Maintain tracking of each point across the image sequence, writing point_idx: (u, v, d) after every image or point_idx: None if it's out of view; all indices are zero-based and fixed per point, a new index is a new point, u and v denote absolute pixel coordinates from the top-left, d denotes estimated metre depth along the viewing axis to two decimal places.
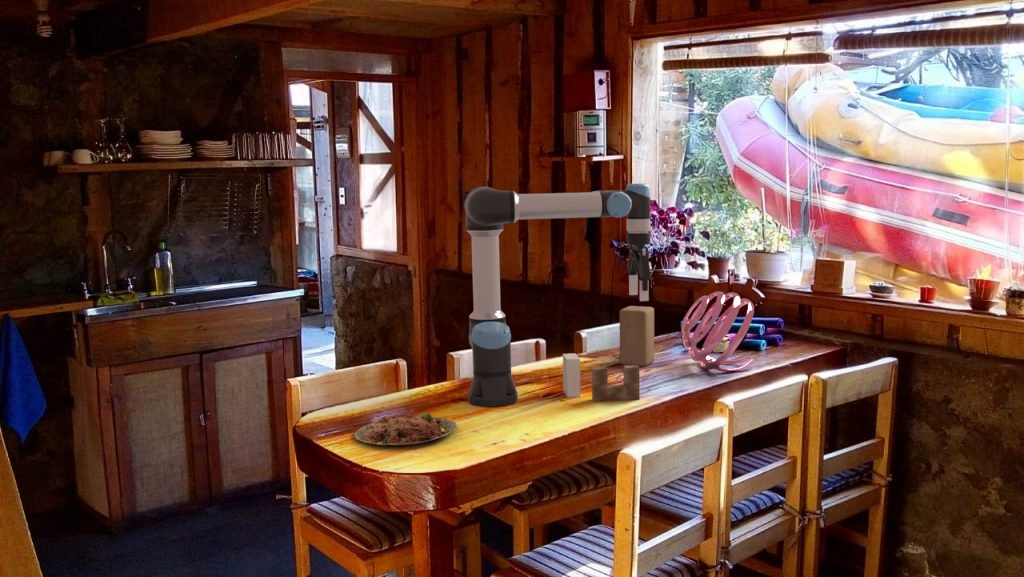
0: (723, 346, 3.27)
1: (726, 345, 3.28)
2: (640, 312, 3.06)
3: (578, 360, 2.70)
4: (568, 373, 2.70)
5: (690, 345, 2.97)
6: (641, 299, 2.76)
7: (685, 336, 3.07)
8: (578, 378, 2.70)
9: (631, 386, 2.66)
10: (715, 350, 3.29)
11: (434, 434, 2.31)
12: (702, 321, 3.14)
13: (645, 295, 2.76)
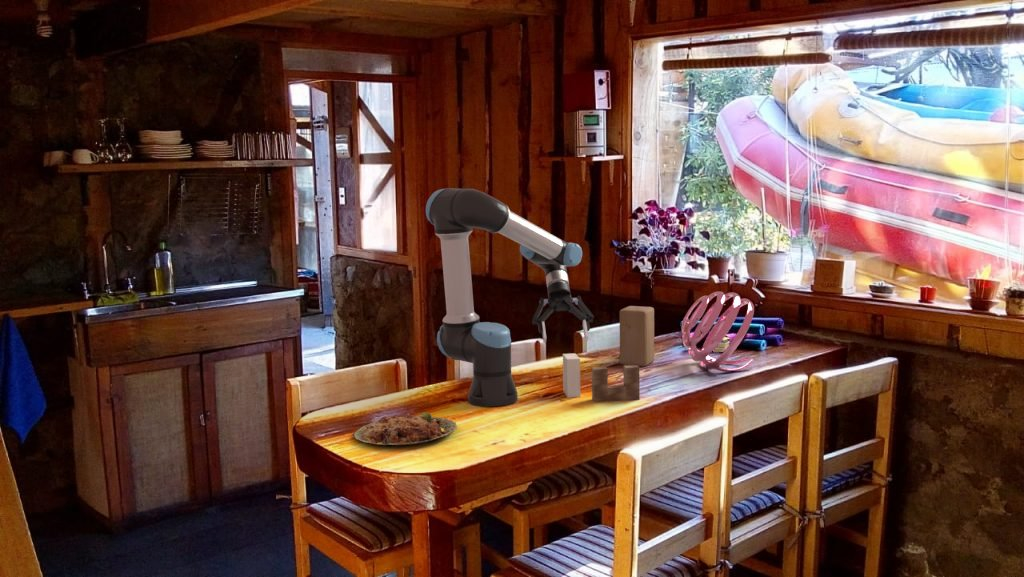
0: (723, 346, 3.27)
1: (726, 345, 3.28)
2: (640, 312, 3.06)
3: (578, 360, 2.70)
4: (568, 373, 2.70)
5: (690, 345, 2.97)
6: None
7: (685, 336, 3.07)
8: (578, 378, 2.70)
9: (631, 386, 2.66)
10: (715, 350, 3.29)
11: (434, 434, 2.31)
12: (702, 321, 3.14)
13: None
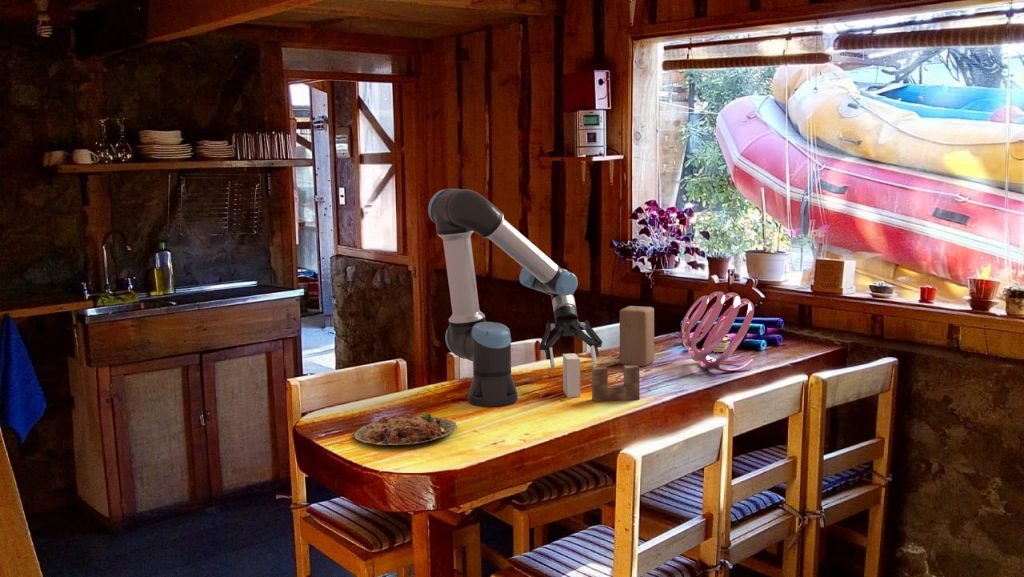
0: (723, 346, 3.27)
1: (726, 345, 3.27)
2: (640, 312, 3.06)
3: (578, 360, 2.70)
4: (568, 373, 2.70)
5: (690, 345, 2.97)
6: None
7: (685, 336, 3.07)
8: (578, 378, 2.70)
9: (631, 386, 2.66)
10: (715, 350, 3.29)
11: (434, 434, 2.31)
12: (702, 321, 3.14)
13: None
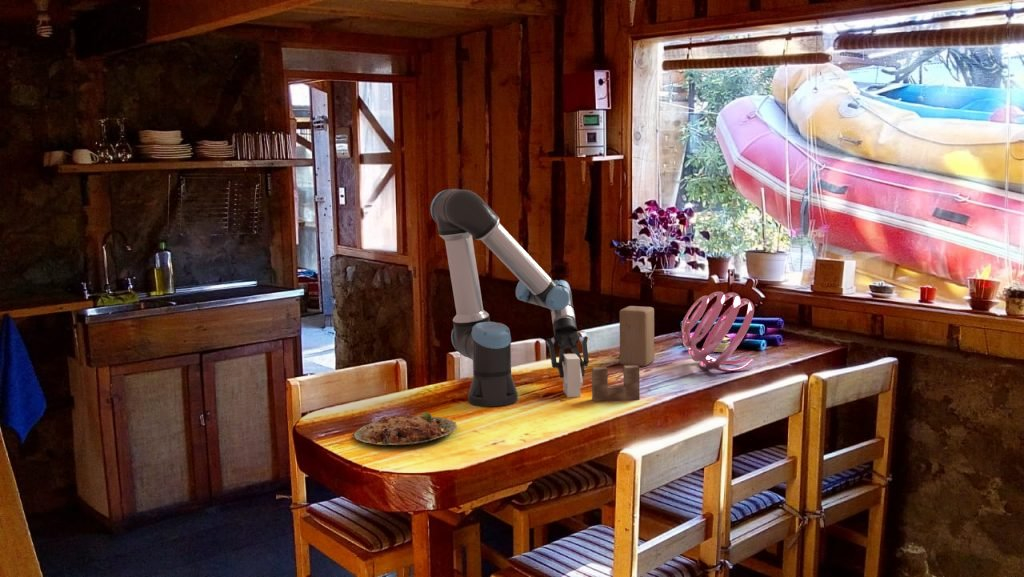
0: (723, 346, 3.27)
1: (726, 345, 3.27)
2: (640, 312, 3.06)
3: (578, 360, 2.70)
4: (568, 373, 2.70)
5: (690, 345, 2.97)
6: (582, 381, 2.70)
7: (685, 336, 3.07)
8: (578, 378, 2.70)
9: (631, 386, 2.66)
10: (715, 350, 3.29)
11: (434, 434, 2.31)
12: (702, 321, 3.14)
13: None
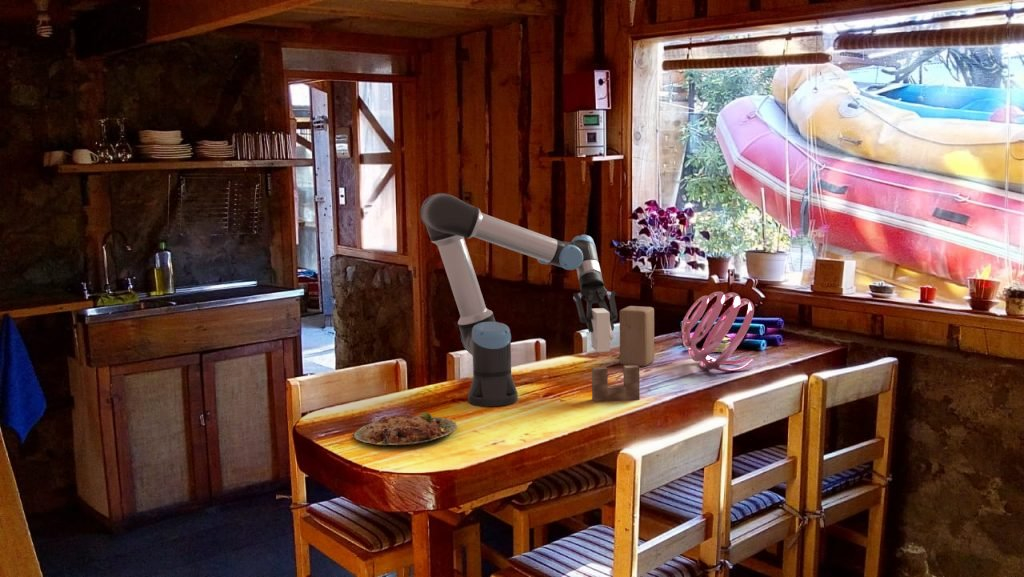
0: (723, 346, 3.26)
1: (726, 346, 3.27)
2: (640, 312, 3.06)
3: (608, 314, 2.64)
4: (598, 327, 2.64)
5: (690, 345, 2.97)
6: None
7: (685, 336, 3.07)
8: (608, 332, 2.65)
9: (631, 386, 2.66)
10: (715, 350, 3.28)
11: (434, 434, 2.31)
12: (702, 321, 3.14)
13: None
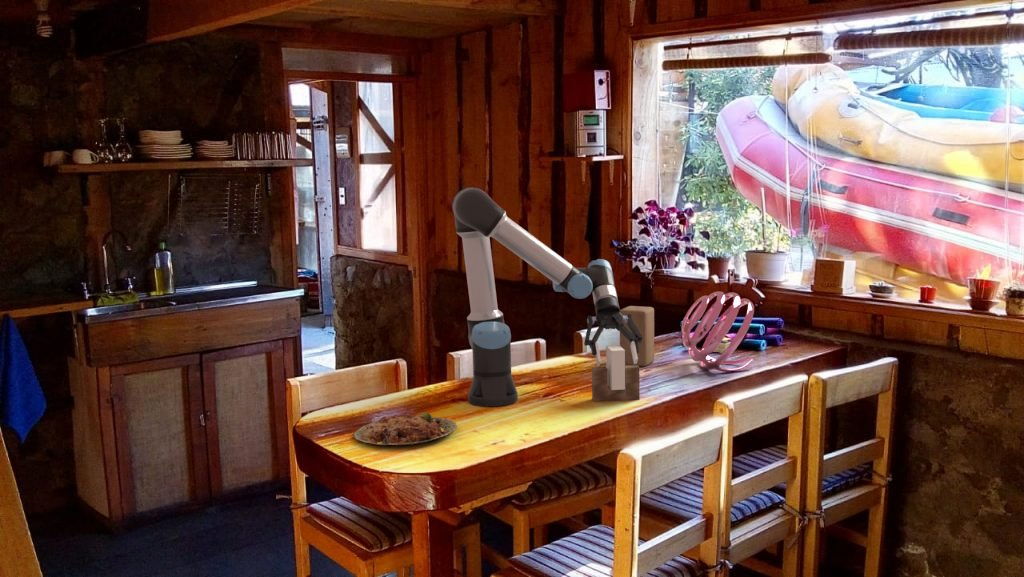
0: (723, 347, 3.26)
1: (727, 346, 3.27)
2: (640, 312, 3.06)
3: (623, 351, 2.61)
4: (613, 365, 2.62)
5: (690, 345, 2.97)
6: None
7: (685, 336, 3.07)
8: (623, 370, 2.62)
9: (631, 386, 2.66)
10: (716, 351, 3.28)
11: (434, 434, 2.31)
12: (702, 321, 3.14)
13: None
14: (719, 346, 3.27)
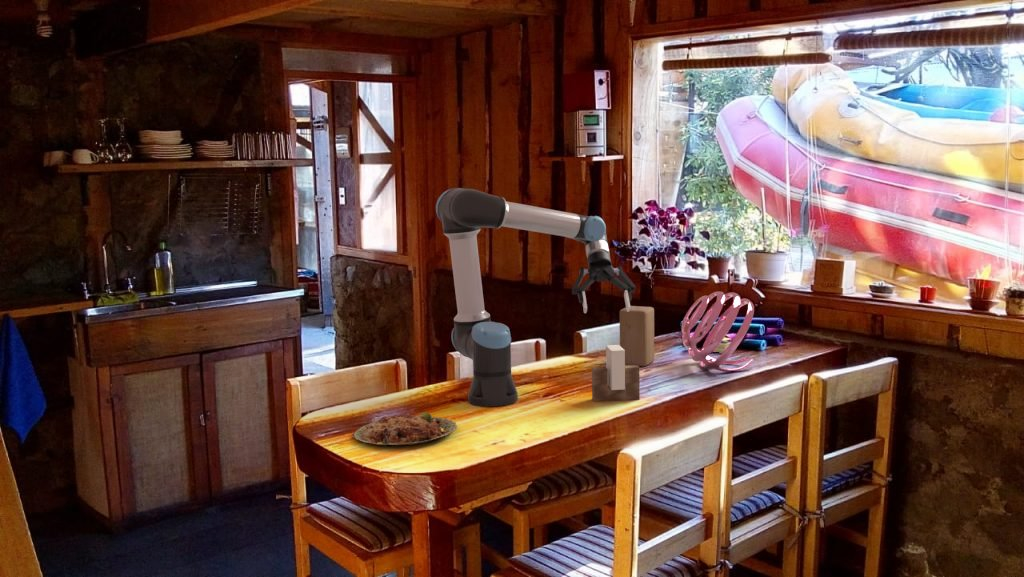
0: (723, 347, 3.26)
1: (727, 346, 3.26)
2: (640, 312, 3.06)
3: (623, 351, 2.61)
4: (613, 365, 2.62)
5: (690, 345, 2.97)
6: None
7: (685, 336, 3.07)
8: (623, 370, 2.62)
9: (631, 386, 2.66)
10: (716, 351, 3.28)
11: (434, 434, 2.31)
12: (702, 321, 3.14)
13: None
14: (719, 346, 3.27)
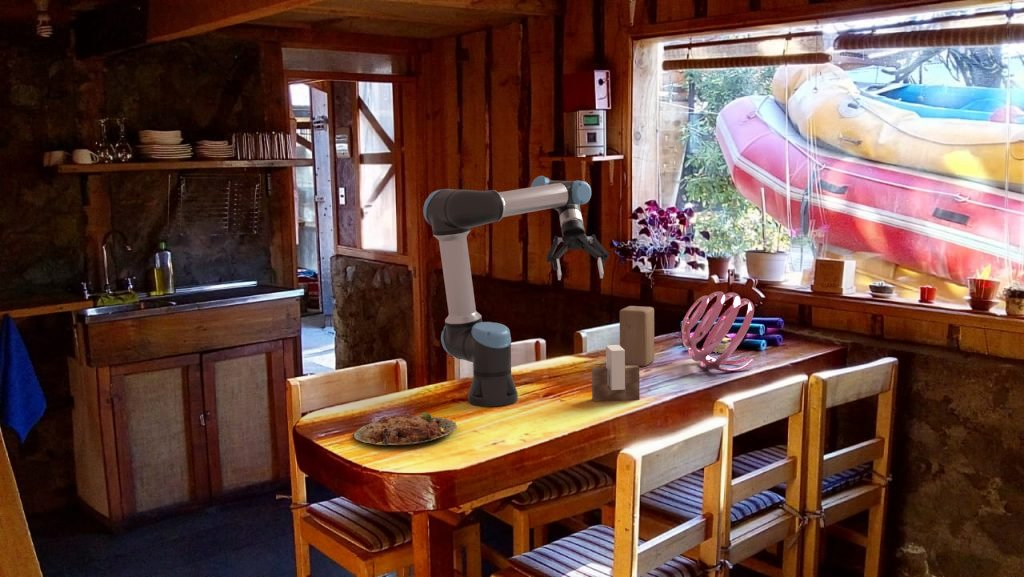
0: (723, 347, 3.26)
1: (727, 346, 3.26)
2: (640, 312, 3.06)
3: (623, 351, 2.61)
4: (613, 365, 2.62)
5: (690, 345, 2.97)
6: None
7: (685, 336, 3.07)
8: (623, 370, 2.62)
9: (631, 386, 2.66)
10: (716, 351, 3.28)
11: (434, 434, 2.31)
12: (702, 321, 3.14)
13: None
14: (719, 346, 3.27)
